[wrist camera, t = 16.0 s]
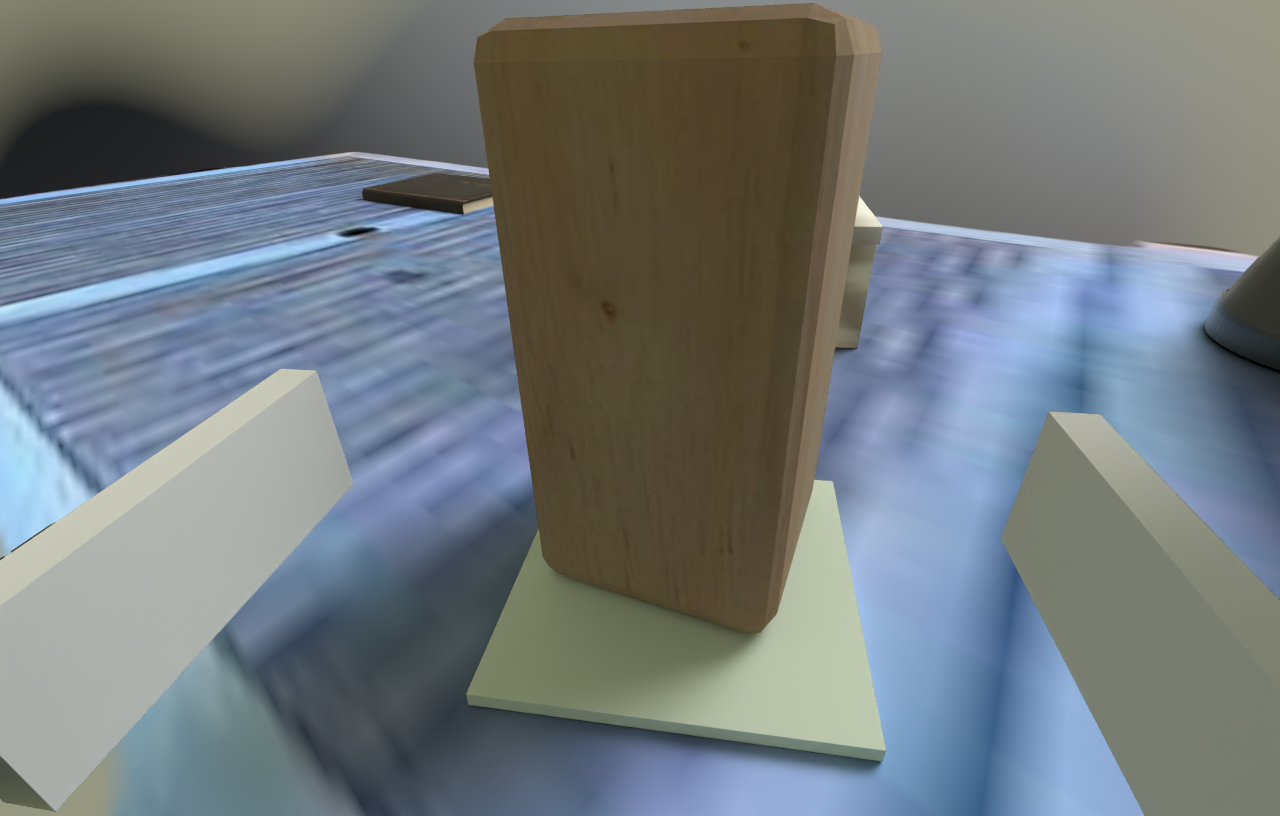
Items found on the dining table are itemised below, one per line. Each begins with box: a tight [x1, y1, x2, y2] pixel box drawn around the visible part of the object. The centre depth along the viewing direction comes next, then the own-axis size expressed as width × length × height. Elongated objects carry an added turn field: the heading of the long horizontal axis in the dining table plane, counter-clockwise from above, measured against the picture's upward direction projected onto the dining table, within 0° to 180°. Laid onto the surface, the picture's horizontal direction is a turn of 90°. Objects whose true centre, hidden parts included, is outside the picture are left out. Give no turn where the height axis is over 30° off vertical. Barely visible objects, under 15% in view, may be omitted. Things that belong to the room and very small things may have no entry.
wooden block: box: [474, 3, 882, 633], centre depth 23 cm, size 10×10×20 cm
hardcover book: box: [362, 173, 494, 214], centre depth 99 cm, size 16×23×2 cm
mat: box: [466, 480, 886, 761], centre depth 26 cm, size 14×14×1 cm
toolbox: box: [835, 197, 883, 348], centre depth 49 cm, size 18×13×13 cm
